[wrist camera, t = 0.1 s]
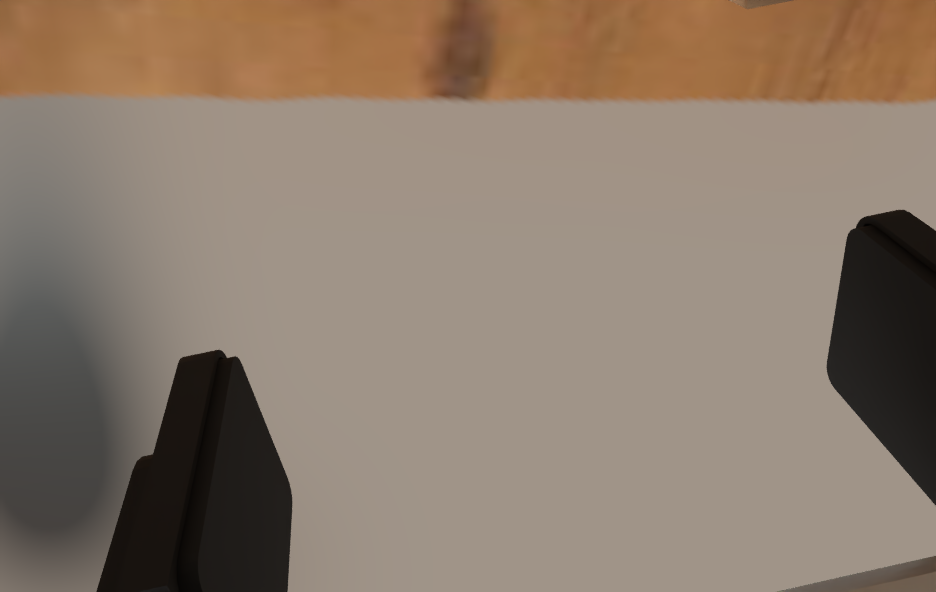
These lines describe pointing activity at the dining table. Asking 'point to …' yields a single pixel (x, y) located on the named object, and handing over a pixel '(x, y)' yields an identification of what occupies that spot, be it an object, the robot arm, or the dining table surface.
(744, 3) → the rail
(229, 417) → the robot arm
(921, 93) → the dining table surface
